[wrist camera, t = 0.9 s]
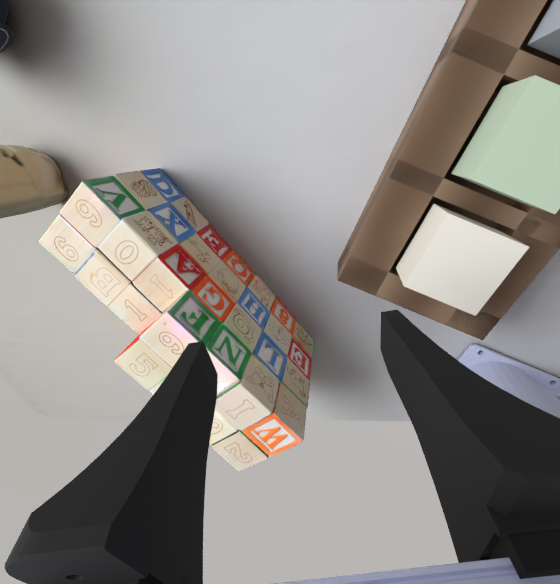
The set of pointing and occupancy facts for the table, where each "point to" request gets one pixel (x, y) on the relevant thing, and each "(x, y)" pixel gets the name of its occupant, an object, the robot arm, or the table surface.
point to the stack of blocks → (189, 306)
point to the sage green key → (519, 145)
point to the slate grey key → (548, 32)
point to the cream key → (458, 260)
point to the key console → (444, 157)
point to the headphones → (3, 35)
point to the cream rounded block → (28, 181)
